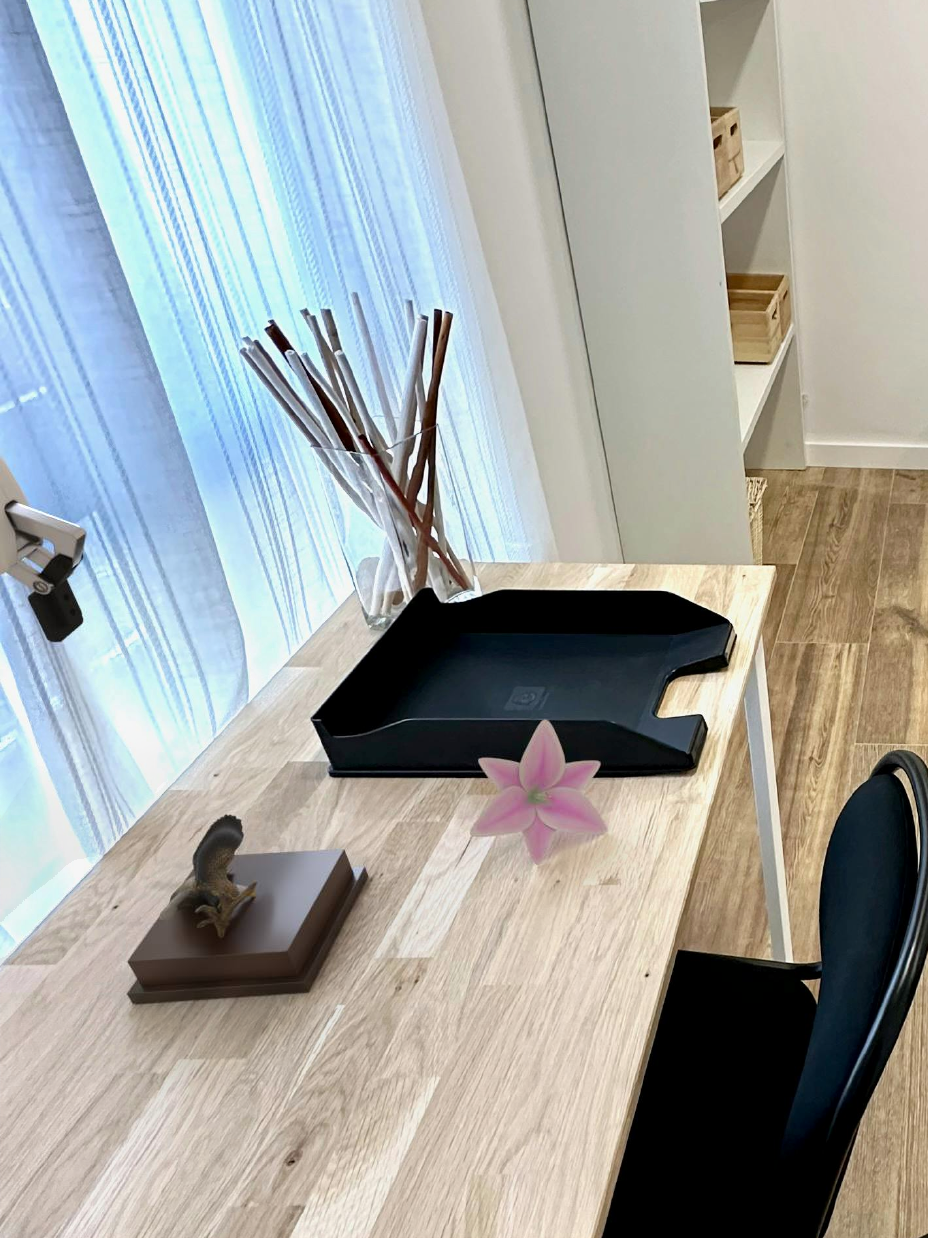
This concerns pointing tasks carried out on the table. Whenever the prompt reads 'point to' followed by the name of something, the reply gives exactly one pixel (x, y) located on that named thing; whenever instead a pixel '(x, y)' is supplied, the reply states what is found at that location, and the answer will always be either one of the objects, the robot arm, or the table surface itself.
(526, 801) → the lily
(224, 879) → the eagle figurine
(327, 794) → the table surface
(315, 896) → the display stand
